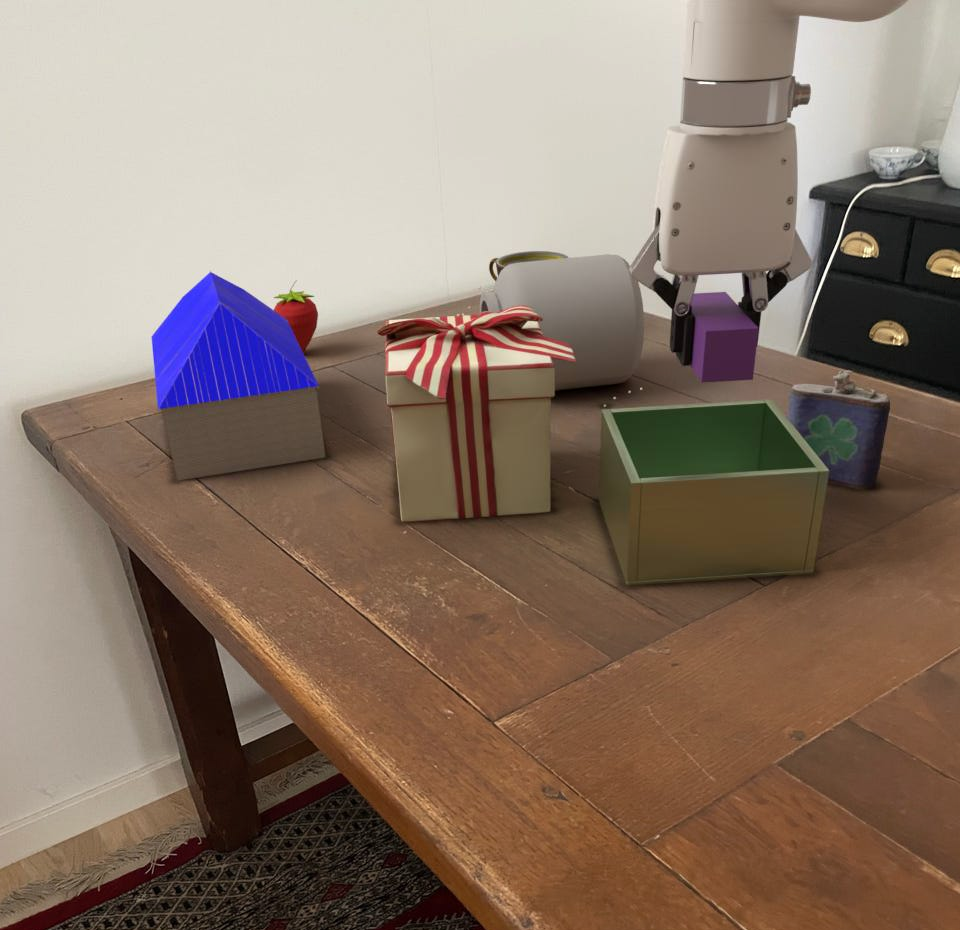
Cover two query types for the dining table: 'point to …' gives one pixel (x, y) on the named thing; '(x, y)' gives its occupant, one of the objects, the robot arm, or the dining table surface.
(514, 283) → the jar
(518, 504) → the gift box
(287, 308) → the strawberry
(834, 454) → the flask
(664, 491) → the open box
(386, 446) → the dining table surface
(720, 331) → the purple block
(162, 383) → the house
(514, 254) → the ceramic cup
